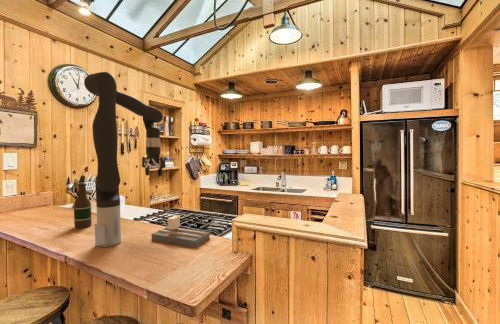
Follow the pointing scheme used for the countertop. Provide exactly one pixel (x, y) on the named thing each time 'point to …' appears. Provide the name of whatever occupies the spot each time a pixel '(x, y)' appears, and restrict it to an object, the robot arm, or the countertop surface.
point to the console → (181, 236)
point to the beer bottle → (82, 208)
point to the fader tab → (174, 223)
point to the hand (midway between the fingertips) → (153, 175)
